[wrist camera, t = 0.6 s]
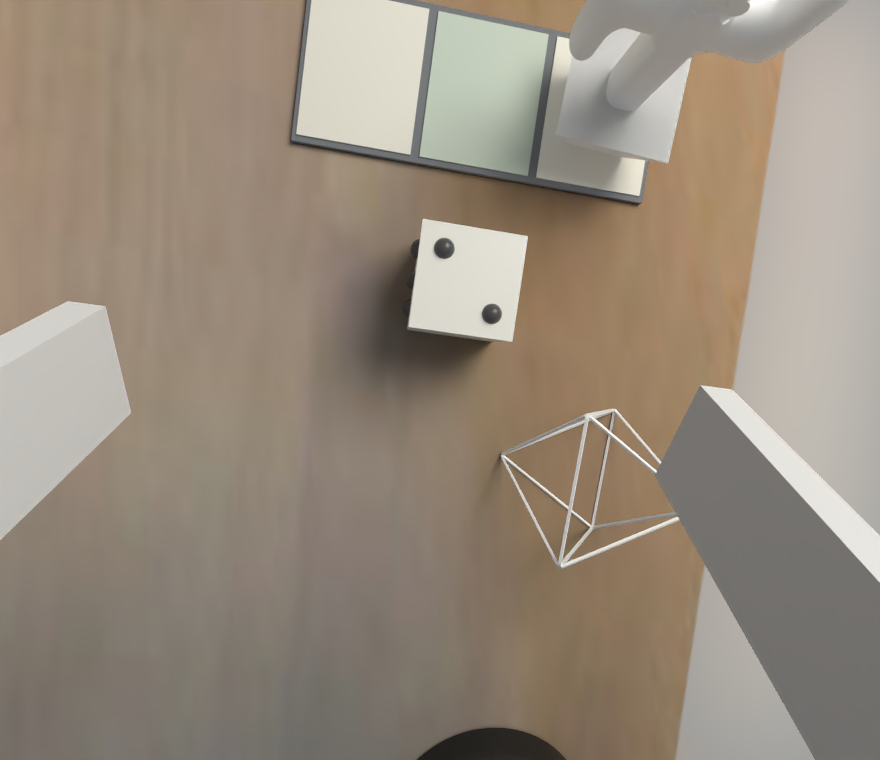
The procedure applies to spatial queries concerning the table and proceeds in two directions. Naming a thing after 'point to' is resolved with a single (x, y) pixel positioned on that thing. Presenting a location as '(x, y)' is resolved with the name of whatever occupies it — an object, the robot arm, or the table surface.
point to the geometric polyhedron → (553, 432)
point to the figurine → (662, 62)
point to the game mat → (447, 95)
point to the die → (465, 282)
